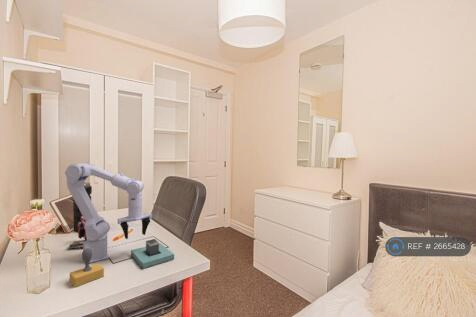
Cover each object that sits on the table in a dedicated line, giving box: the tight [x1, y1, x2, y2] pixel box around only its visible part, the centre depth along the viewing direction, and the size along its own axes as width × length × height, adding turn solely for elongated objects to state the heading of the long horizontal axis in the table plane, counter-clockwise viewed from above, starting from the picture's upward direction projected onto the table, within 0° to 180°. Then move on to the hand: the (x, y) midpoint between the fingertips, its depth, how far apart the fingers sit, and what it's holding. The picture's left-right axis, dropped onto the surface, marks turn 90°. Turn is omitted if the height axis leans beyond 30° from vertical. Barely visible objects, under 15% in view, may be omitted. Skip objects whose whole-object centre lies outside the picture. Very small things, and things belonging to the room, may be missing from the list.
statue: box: [66, 216, 88, 250], centre depth 121 cm, size 11×9×15 cm
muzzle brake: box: [72, 182, 93, 234], centre depth 142 cm, size 10×28×10 cm
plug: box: [145, 238, 160, 257], centre depth 109 cm, size 4×5×7 cm
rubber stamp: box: [69, 248, 105, 288], centre depth 91 cm, size 10×6×12 cm, turn 140°
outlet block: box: [130, 242, 175, 270], centre depth 110 cm, size 14×16×2 cm
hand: (135, 236), depth 109 cm, fingers open, 7 cm apart
